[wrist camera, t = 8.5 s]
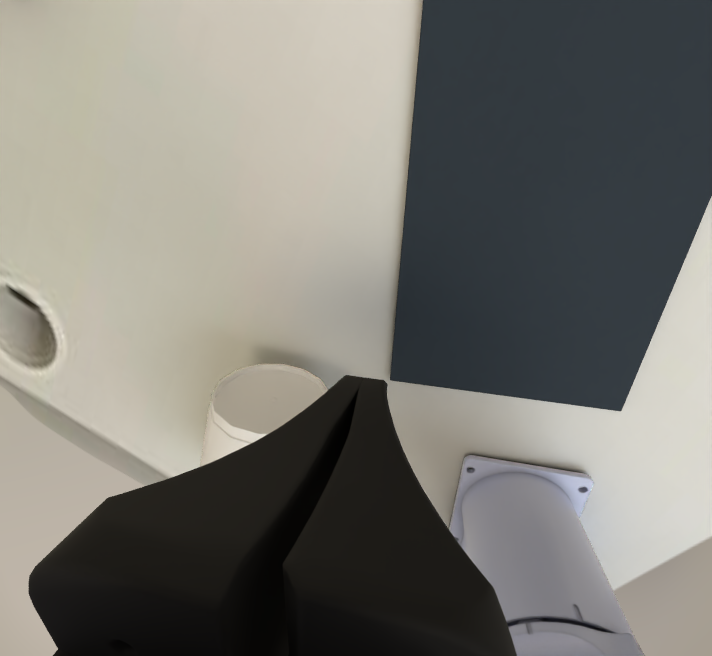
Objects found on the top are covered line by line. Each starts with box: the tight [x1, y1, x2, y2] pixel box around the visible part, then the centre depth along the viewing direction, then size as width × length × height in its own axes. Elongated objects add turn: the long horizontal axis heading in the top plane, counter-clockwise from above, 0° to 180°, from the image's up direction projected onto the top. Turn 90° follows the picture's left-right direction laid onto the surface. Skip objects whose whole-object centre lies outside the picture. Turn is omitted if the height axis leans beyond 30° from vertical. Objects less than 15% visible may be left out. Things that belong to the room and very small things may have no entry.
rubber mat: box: [390, 0, 712, 411], centre depth 17 cm, size 20×14×1 cm
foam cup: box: [200, 364, 328, 467], centre depth 21 cm, size 10×9×13 cm
